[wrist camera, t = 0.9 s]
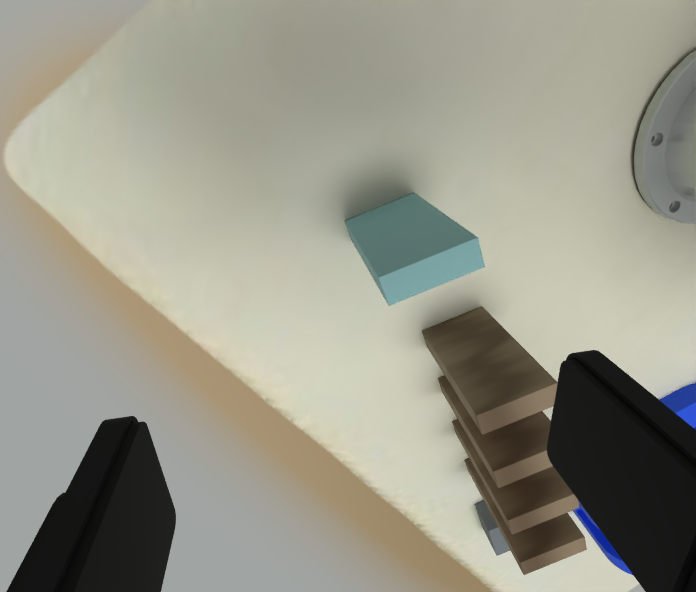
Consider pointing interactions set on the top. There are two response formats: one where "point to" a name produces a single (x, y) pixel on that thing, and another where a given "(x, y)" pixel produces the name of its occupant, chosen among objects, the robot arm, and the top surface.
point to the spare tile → (413, 247)
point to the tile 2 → (489, 370)
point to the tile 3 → (506, 442)
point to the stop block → (491, 529)
